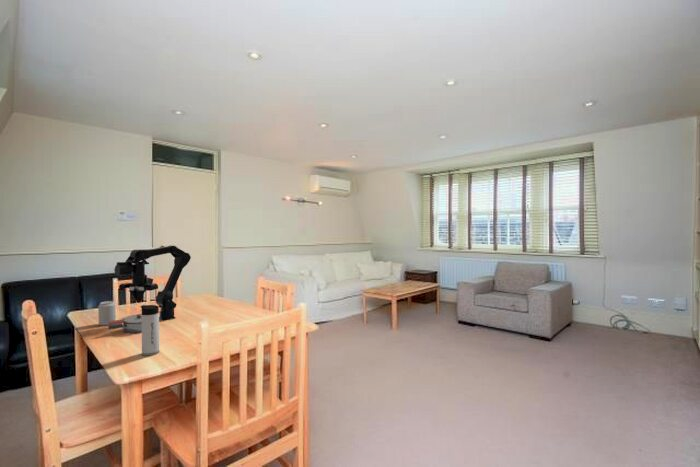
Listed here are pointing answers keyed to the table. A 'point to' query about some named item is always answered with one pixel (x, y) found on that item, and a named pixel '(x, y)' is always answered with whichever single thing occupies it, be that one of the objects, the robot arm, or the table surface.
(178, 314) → the table surface
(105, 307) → the can
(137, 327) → the pot
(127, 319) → the lid
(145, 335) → the travel mug
